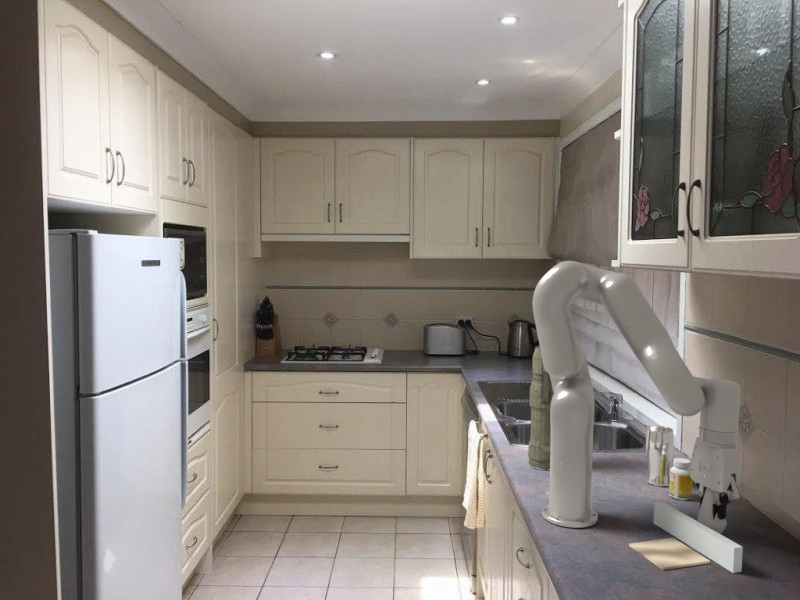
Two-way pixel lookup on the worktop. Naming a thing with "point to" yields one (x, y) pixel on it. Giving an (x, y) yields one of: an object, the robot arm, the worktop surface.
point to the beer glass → (659, 454)
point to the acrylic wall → (699, 537)
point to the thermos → (540, 414)
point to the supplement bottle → (680, 479)
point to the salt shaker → (710, 513)
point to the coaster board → (669, 553)
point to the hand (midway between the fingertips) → (712, 517)
